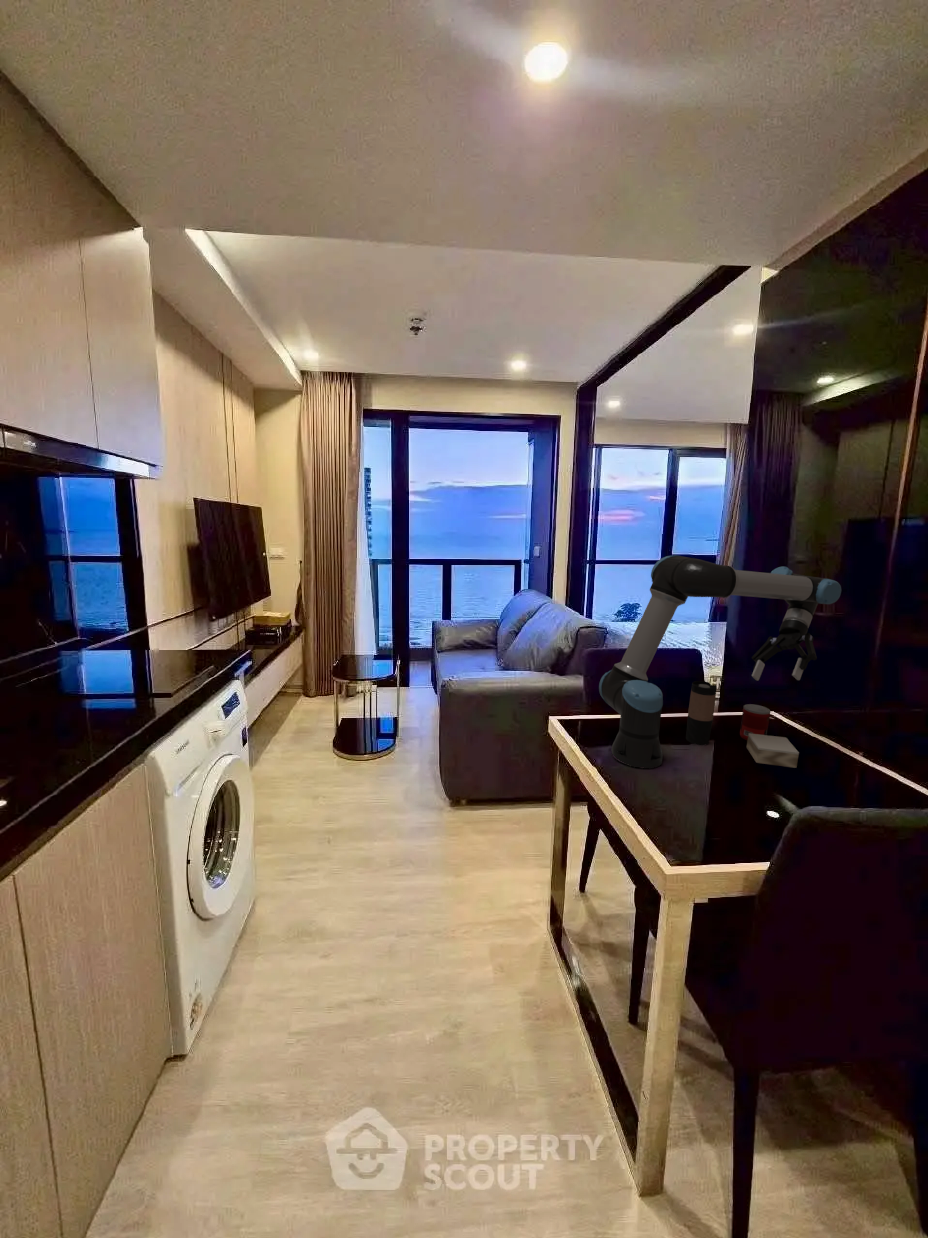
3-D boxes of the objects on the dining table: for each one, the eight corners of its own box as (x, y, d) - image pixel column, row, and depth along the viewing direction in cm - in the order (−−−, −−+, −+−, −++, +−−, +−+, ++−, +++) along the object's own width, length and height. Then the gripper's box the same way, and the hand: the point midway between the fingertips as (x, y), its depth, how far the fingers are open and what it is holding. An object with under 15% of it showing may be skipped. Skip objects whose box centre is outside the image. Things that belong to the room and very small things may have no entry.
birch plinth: (756, 762, 155) (758, 747, 154) (746, 747, 166) (748, 733, 165) (796, 767, 152) (799, 752, 151) (783, 751, 163) (786, 737, 162)
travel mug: (685, 743, 168) (692, 686, 164) (684, 734, 175) (691, 679, 171) (710, 747, 165) (718, 689, 161) (708, 738, 172) (716, 682, 168)
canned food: (769, 744, 168) (774, 713, 166) (743, 741, 170) (748, 711, 168) (760, 734, 176) (765, 705, 173) (736, 732, 177) (740, 703, 175)
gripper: (842, 628, 155) (822, 684, 148) (766, 635, 178) (746, 684, 171) (828, 613, 153) (807, 669, 147) (753, 622, 176) (732, 672, 169)
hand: (774, 678), depth 159 cm, fingers open, 13 cm apart
